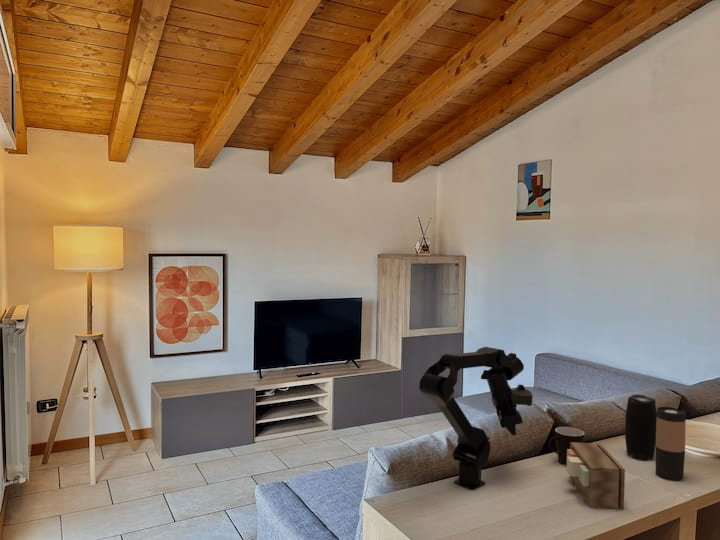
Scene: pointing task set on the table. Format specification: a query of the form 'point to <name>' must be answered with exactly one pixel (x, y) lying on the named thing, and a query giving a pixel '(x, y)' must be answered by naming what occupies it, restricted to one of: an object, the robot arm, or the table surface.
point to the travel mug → (670, 443)
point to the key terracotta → (571, 453)
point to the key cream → (574, 465)
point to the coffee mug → (565, 441)
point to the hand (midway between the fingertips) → (514, 434)
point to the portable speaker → (641, 427)
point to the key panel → (600, 477)
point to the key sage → (584, 475)
